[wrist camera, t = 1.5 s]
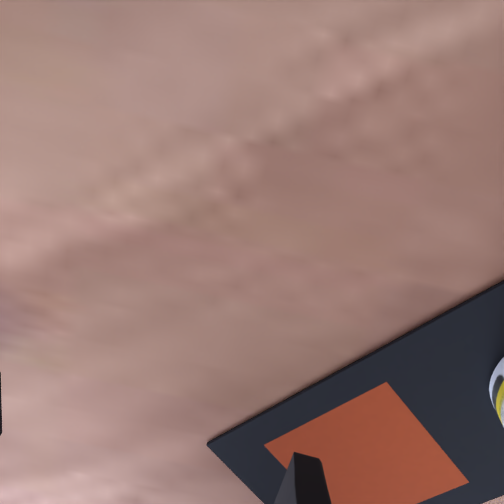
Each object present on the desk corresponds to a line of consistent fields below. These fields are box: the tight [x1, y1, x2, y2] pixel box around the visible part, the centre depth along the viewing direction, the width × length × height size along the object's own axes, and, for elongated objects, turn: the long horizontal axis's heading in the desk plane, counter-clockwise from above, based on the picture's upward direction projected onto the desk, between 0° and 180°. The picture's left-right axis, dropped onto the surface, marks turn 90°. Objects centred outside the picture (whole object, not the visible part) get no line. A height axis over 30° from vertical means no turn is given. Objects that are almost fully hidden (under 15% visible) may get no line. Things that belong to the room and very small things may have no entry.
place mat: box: [207, 281, 504, 504], centre depth 21 cm, size 10×22×1 cm, turn 129°
